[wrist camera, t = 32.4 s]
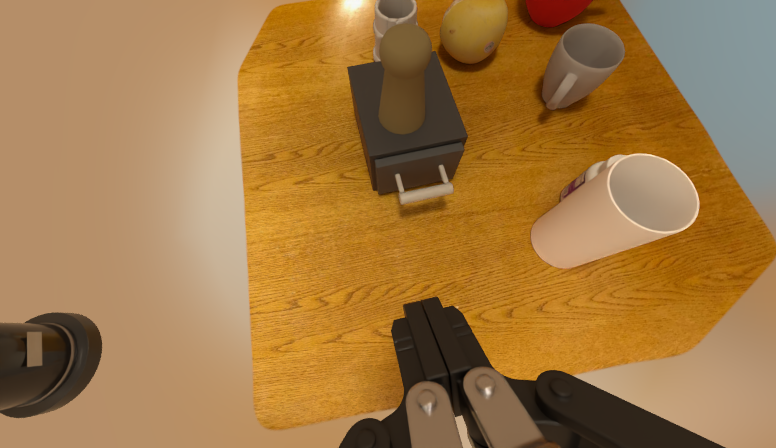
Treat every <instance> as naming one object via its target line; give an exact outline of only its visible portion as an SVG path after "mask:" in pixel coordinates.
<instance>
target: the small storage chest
mask: <svg viewBox="0 0 776 448" xmlns="http://www.w3.org/2000/svg"><path fill="white" fill-rule="evenodd" d="M347 68H348V74H349V80H350V87H351V93H352V99H353V105H354V111H355V116H356V121H357V125H358V129H359V133H360V137H361V141H362V146H363V150H364V154H365V158H366V162H367V166H368V171H369V175H370V179H371V183H372V187H373V191H375V190H377V182H376V170H375V160H376V159H377V158H382V157H387V156H391V155H396V154H401V153H406V152H411V151H416V150H421V149H425V148H430V147H435V146H440V145H445V144H454V143H459V142H462V144H463V147H464V145H465V142H466V140H467V137H468V135H467V133H466V130H465V128H464V125H463V122H462V120H461V117H460V114H459V112H458V109H457V107H456V104H455V101H454V99H453V96H452V93H451V91H450V88H449V86H448V83H447V80H446V78H445V75H444V72H443V70H442V67H441V65H440V62H439V59H438V57H437V54H436V51H433V52H432V53H431V59H430V62H429V64H428V66H427V68H426V69H425V70H424V82H425V120H424V122H423V124H422V126H421V127H420V128H419V129H418V130H416V131H414V132H412V133H409V134H395V133H392V132H390V131H388V130H387V129H385V128H384V127H383V126H382V124H381V123H380V121H379V117H378V115H379V107H380V100H381V92H382V85H383V78H384V70H385V69H384V68H383V66H382V63H381V61H378V62H373V63H367V64H362V65H356V66H351V67H347Z"/></svg>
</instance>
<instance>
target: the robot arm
mask: <svg viewBox="0 0 776 448" xmlns="http://www.w3.org/2000/svg"><path fill="white" fill-rule="evenodd" d="M403 309H404V314H405V318H401V319H397V320H394V322H393V326H392V329H391V332H392V337H393V341H394V346H395V350H396V355H397V359H398V364H399V368H400V373H401V377H402V382H403V386H404V396H403V400H402V402H401V404H400V406H399V407H398V408H397V409H396V410H395V411H394V412H393V413H392V414H391V415H389V416H388V417H386V418H385V419H383V420H382V421H379V420H377V419H373V418H367V419H363V420H360V421H358V422H357V423H356V424H354V425H353V426H352V427H351V428H350V430H349V431H348V432H347V434H346V436H345V438H344V439H343V441H342V443H341V444H340V446H339V448H463V447H462V442H461V439H460V436H459V432H458V428H457V425H456V421H455V418H454V415H455V417H457V416H461V415H462V416H463V418H464V421H465V424H466V426H467V434H468V438H469V441H470V444H471V446H472V448H725V447H723V446H721V445H719V444H717V443H714V442H712V441H710V440H708V439H706V438H704V437H702V436H700V435H697V434H695V433H693V432H691V431H689V430H687V429H685V428H683V427H680V426H678V425H676V424H674V423H671V422H670V421H668V420H665V419H663V418H661V417H659V416H657V415H655V414H653V413H651V412H648V411H646V410H644V409H642V408H640V407H638V406H635V405H633V404H631V403H629V402H627V401H625V400H622V399H621V398H619V397H616V396H614V395H612V394H610V393H608V392H606V391H604V390H601V389H599V388H597V387H595V386H593V385H591V384H589V383H587V382H584V381H582V380H580V379H578V378H576V377H574V376H572V375H570V374H567V373H565V372H562V371H557V370H549V371H545V372H543V373H541V374H540V375H539V376H538V378H537V380H536V381H532V380H517V379H511V378H508V377H506V376H504V375H502V374H500V373H499V372H498V371H496V370H495V369H494V368H493V367H492V365H491V364H490V362H489V360H488V359H487V357H486V355H485V353H484V351H483V350H482V348H481V346H480V344H479V342H478V341H477V339H476V337H475V335H474V333H472V330H471V328H470V326H469V325H468V323H467V321H466V319H465V317H464V315H463V314H462V313H461V312H460V311H459V310H458V309H456V308H455V307H454V306H449V307H445V308H443V307H442V305H441V302H440V300H439V298H438V297H432V298H428V299H424V300H421V301H416V302H412V303H408V304H404V305H403ZM76 358H77V341H76V338H75V336H74V334H73V333H72V331H71V330H70V329H69V328H67V327H66V326H64V325H62V324H58V323H0V410H4V409H9V408H13V407H23V406H28V405H32V404H35V403H38V402H41V401H43V400H45V399H46V398H48V397H49V396H51V395H52V394H53V393H55V392H56V391H57V390H58V389H59V388H60V387H61V386H62V385H63V384H64V382H65V381H66V380H67V378H68V377H69V375H70V374H71V372H72V370H73V367H74V365H75V362H76ZM453 413H454V414H453Z"/></svg>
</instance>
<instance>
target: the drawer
mask: <svg viewBox="0 0 776 448" xmlns="http://www.w3.org/2000/svg"><path fill="white" fill-rule="evenodd" d="M464 150H465V149H464V147H463V144H462V142H459V143H454V144H445V145H440V146H435V147H430V148H425V149H421V150H416V151H411V152H406V153H401V154H396V155H391V156H387V157H382V158H377V159H376V160H375V170H376V182H377V190H378V194H383V193H388V192H392V191H397V190H399V200H400V204H401V205H403V204H407V203H412V202H417V201H421V200H426V199H430V198H435V197H439V196H444V195H449V194H453V192H454V189H453V185H452V183H451V182H450V183H449V181H448V179H452V178H453V176H454V174H455V171H456V169H457V166H458V164H459V162H460V159H461V157H462V154H463V152H464ZM439 181H443V184H441V185H436V186H431V187H427V188H422V189H417V190H413V191H408V192H404V189H406V188H411V187H416V186H420V185H425V184H430V183H434V182H439Z"/></svg>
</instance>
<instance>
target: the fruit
mask: <svg viewBox="0 0 776 448" xmlns="http://www.w3.org/2000/svg"><path fill="white" fill-rule="evenodd" d="M507 19H508V9H507V5H506V3H505V1H504V0H453V2H452V4H451V6H450V7H449V8H448V9H447V11H446V12H445V14H444V17H443V22H442V25H441V28H440V38H441V41H442V44H443V47H444V48H445V50H446V51H447V52H448V53H449V54H450V55H451V56H452V57H453V58H454V59H456V60H457V61H459V62H462V63H467V64H473V63H477V62H480V61H482V60H484V59H485V58H486V57H488V56H489V55H490V54H491V53H492V52H493V51H494V50H495V49H496V47H497V46H498V44H499V43H500V41H501V39H502V37H503V34H504V31H505V28H506V24H507Z"/></svg>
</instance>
